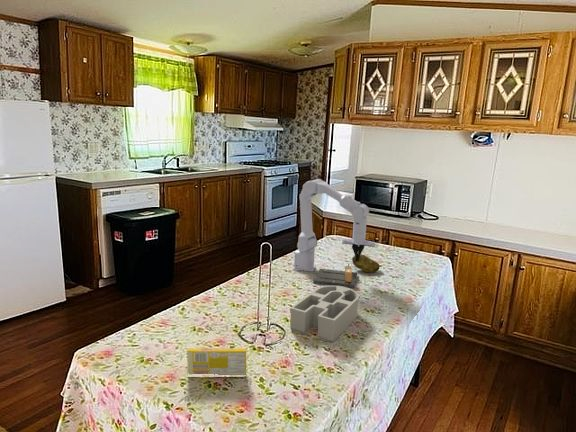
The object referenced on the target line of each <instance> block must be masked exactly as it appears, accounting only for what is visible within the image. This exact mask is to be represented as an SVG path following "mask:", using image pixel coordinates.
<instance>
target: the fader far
mask: <svg viewBox="0 0 576 432" xmlns="http://www.w3.org/2000/svg"><path fill="white" fill-rule="evenodd" d="M352 264H353V263H352ZM352 264H351V263H345V267H344V269H345V270H344V271H345V274H346V270H347V269H348V270H349V269H350V270H352Z"/></svg>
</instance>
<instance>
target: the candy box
mask: <svg viewBox="0 0 576 432" xmlns="http://www.w3.org/2000/svg"><path fill="white" fill-rule="evenodd" d="M186 358H187V374H188V373H189V374H214V375H215V374H218V375H246V376H247V348H187V351H186Z"/></svg>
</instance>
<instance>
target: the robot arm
mask: <svg viewBox="0 0 576 432" xmlns="http://www.w3.org/2000/svg"><path fill="white" fill-rule="evenodd" d="M317 194H320V195H321V194H325V195H327V196H328V197H330V198H332V199H334V200H335V201H337V202H338V203H339V206H340V207H341V208H343V209H344V210H346V211H348V212H349V213H350V214H351V215H352V217H353V227H352V239H351V238H347V239H346V238H343V239H342V240H341V241H342V242H341V243H342V245H350V246H351V249H352V251H353V254H354V256H355V258H356V261H359V258H360V255H361V254H362V253H363V250H364V249H365V247H372V248H375V247H376V242H375V241H371V240H366V235H367V217H368V215H369V213H370V208H369V206H368V205H366V203H361V202H360V201H357V200H355V199H354V198H353V197H352V195H348V194H346V195H343V194H342V193H341V192H339V191H338V190H336V189H335V188H333V186H330V184H328V183H327V182H326V181H325V180H323V179H321V178H317V179H313V180H308V181H306V182H305V183H303V185H302V189H301V192H300V194H299V204H300V205H299V210H300V228H301V232H300V233H299V235H298V240H297V241H298V242H297V245H296V247H297V249H296V250H295V252H294V259H293V260H294V264H293V265H294V267H293V270H295V271H296V270H297V271H303V270H304V271H303V272H314V271H315V269H316V267H317V266H316V265H315V248H316V247H317V246H318V240H317V238H316V233H315V232H314V231H313V228H314V227H313V209H312V208H313V207H312V206H313V205H312V199H313V198H314V197H316V195H317Z"/></svg>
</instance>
